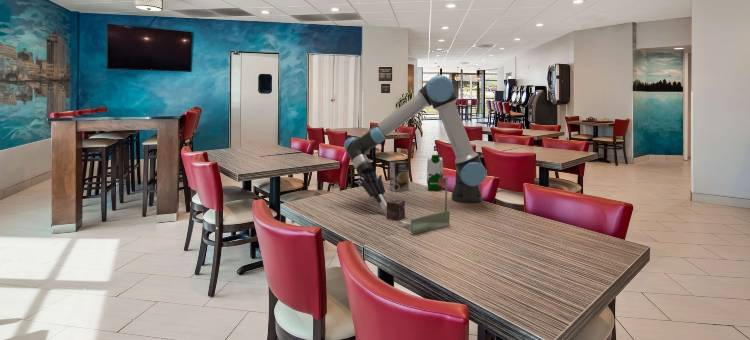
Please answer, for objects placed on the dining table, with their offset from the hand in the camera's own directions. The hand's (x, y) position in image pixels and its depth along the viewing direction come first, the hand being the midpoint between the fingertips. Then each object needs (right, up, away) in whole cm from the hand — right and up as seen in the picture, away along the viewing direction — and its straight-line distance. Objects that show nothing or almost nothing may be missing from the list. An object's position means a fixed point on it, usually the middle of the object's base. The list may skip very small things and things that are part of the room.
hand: (385, 207), depth 195 cm
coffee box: (+9, +5, +50) cm, 51 cm away
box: (+4, -4, -5) cm, 8 cm away
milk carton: (+29, +6, +51) cm, 59 cm away
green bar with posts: (+14, -6, -16) cm, 22 cm away
